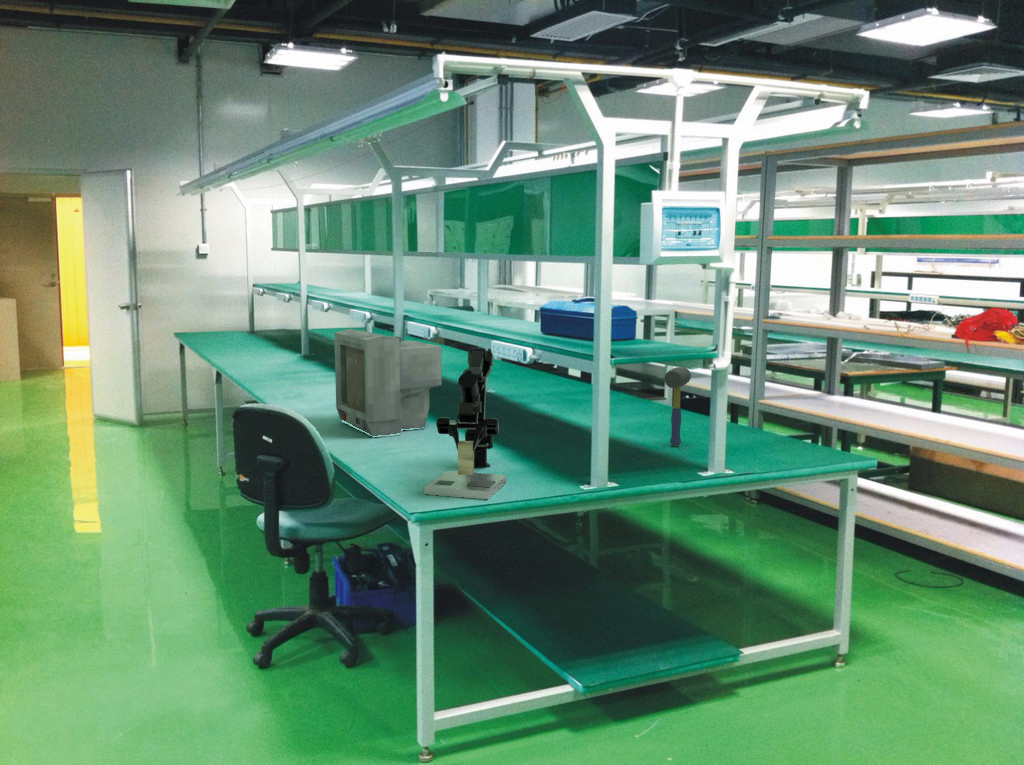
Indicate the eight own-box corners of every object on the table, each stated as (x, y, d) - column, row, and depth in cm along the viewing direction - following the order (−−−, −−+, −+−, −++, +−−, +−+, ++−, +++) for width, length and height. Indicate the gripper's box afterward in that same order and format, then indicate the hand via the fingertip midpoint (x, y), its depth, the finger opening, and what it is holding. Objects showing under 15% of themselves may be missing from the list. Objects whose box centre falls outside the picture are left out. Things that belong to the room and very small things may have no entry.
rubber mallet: (671, 441, 335) (673, 365, 331) (689, 444, 332) (692, 366, 327) (660, 448, 324) (662, 368, 320) (679, 450, 321) (682, 370, 316)
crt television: (335, 423, 369) (333, 329, 363) (414, 415, 388) (413, 326, 382) (369, 439, 336) (367, 337, 330) (453, 430, 355) (452, 333, 349)
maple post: (459, 471, 264) (459, 440, 263) (474, 471, 264) (474, 441, 262) (457, 474, 260) (457, 443, 258) (472, 475, 259) (472, 444, 258)
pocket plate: (446, 478, 279) (446, 469, 278) (506, 482, 273) (506, 474, 273) (424, 494, 259) (424, 485, 259) (488, 499, 254) (488, 490, 254)
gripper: (436, 391, 263) (431, 434, 253) (498, 392, 261) (494, 435, 252) (441, 411, 272) (435, 454, 262) (500, 413, 270) (497, 455, 261)
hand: (465, 449), depth 259 cm, fingers closed on maple post, 4 cm apart
